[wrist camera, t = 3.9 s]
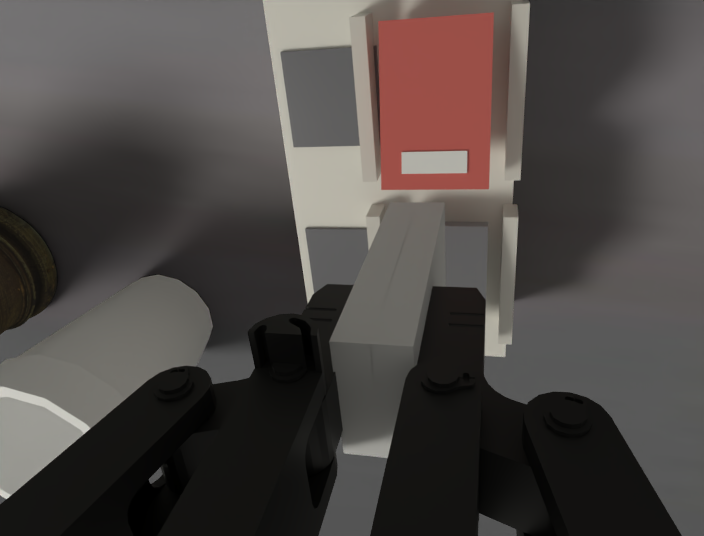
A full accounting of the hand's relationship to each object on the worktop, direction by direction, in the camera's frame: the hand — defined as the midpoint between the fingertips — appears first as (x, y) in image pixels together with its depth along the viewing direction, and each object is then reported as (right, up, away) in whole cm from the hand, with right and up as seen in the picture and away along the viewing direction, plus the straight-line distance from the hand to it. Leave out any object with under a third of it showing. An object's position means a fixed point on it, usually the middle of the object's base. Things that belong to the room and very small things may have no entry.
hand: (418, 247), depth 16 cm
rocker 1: (+1, +5, +5) cm, 8 cm away
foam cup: (-14, -4, +23) cm, 27 cm away
